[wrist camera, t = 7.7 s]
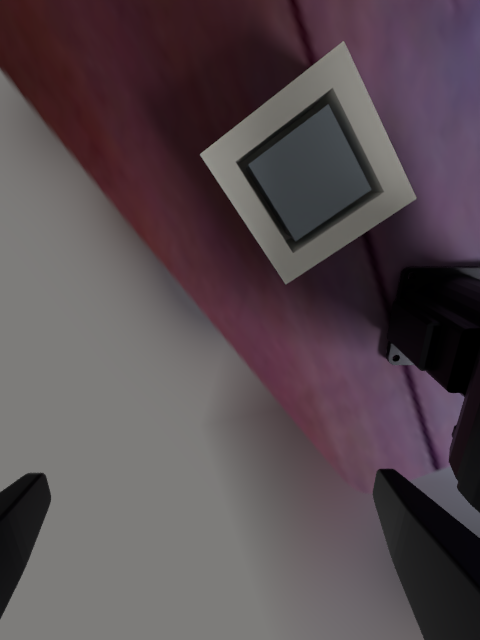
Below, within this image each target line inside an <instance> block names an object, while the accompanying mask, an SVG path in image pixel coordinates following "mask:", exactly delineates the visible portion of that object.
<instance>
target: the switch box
mask: <svg viewBox="0 0 480 640" xmlns="http://www.w3.org/2000/svg"><path fill="white" fill-rule="evenodd" d="M328 104H329V106H330V108H331V110H332V112H333V114H334V116H335V118H336V120H337V122H338V124H339V126H340V128H341V130H342V132H343V134H344V136H345V138H346V140H347V142H348V144H349V146H350V148H351V150H352V152H353V153H354V155H355V157H356V159H357V161H358V163H359V165H360V167H361V169H362V171H363V173H364V175H365V177H366V179H367V181H368V183H369V185H370V187H371V189H372V190H370V191H369V192H368V193H366V194H365V195H363V196H362V197H360V198H359V199H357V200H356V201H354V202H353V203H351V204H350V205H348V206H347V207H345V208H344V209H343V210H341V211H340V212H338V213H337V214H335V215H334V216H332V217H331V218H329V219H328V220H326V221H325V222H323V223H322V224H321V225H319V226H318V227H316V228H315V229H313V230H312V231H310V232H309V233H307V234H306V235H304V236H303V237H301V238H300V239H298V240H297V241H295V240H293V239H292V238H291V237H290V236H288V235H287V234H286V233H285V231H284V230H283V228H282V226H281V225H280V223H279V222H278V220H277V218H276V217H275V215H274V214H273V212H272V210H271V209H270V207H269V206H268V204H267V202H266V201H265V199H264V198H263V196H262V194H261V193H260V191H259V190H258V188H257V186H256V185H255V183H254V181H253V180H252V178H251V177H250V175H249V173H248V172H247V170H246V167H247V166H248V164H250V163H251V162H252V161H254V160H255V159H256V158H257V157H259V156H260V155H261V154H263V153H264V152H265V151H267V150H268V149H269V148H271V147H272V146H273V145H275V144H276V143H277V142H279V141H280V140H281V139H283V138H284V137H285V136H287V135H288V134H289V133H291V132H292V131H293V130H295V129H296V128H297V127H299V126H300V125H301V124H303V123H304V122H305V121H306V120H308V119H309V118H310V117H312V116H313V115H314V114H316V113H317V112H318V111H320V110H321V109H322V108H324V107H325V106H326V105H328ZM200 156H201V157H202V159H203V160H204V162H205V163H206V165H207V166H208V168H209V169H210V171H211V172H212V174H213V175H214V177H215V178H216V180H217V182H218V183H219V185H220V186H221V188H222V189H223V191H224V192H225V194H226V195H227V197H228V198H229V200H230V201H231V203H232V204H233V206H234V207H235V209H236V210H237V212H238V213H239V215H240V216H241V218H242V219H243V221H244V222H245V224H246V225H247V227H248V228H249V230H250V231H251V233H252V234H253V236H254V237H255V239H256V241H257V242H258V244H259V245H260V247H261V248H262V250H263V251H264V253H265V254H266V256H267V257H268V259H269V260H270V262H271V263H272V265H273V266H274V268H275V269H276V271H277V272H278V274H279V275H280V277H281V278H282V280H283V281H284V283H285V284H288V283H289V282H291V281H292V280H294V279H295V278H297V277H298V276H300V275H301V274H303V273H304V272H306V271H307V270H309V269H310V268H312V267H314V266H315V265H317V264H318V263H320V262H321V261H323V260H324V259H326V258H327V257H329V256H330V255H332V254H333V253H335V252H336V251H338V250H339V249H341V248H342V247H344V246H346V245H347V244H349V243H350V242H352V241H353V240H355V239H356V238H358V237H359V236H361V235H362V234H364V233H365V232H367V231H368V230H370V229H371V228H373V227H374V226H376V225H378V224H379V223H381V222H382V221H384V220H385V219H387V218H388V217H390V216H391V215H393V214H394V213H396V212H397V211H399V210H400V209H402V208H403V207H405V206H406V205H408V204H410V203H411V202H413V201H414V200H416V199H417V198H416V196H415V193H414V191H413V189H412V187H411V185H410V183H409V180H408V178H407V176H406V174H405V172H404V170H403V168H402V165H401V163H400V161H399V159H398V157H397V155H396V152H395V150H394V148H393V146H392V144H391V142H390V139H389V137H388V135H387V133H386V131H385V129H384V127H383V124H382V122H381V120H380V118H379V116H378V114H377V111H376V109H375V107H374V105H373V103H372V101H371V98H370V96H369V94H368V92H367V90H366V88H365V85H364V83H363V81H362V79H361V77H360V75H359V73H358V70H357V68H356V66H355V64H354V62H353V60H352V57H351V55H350V53H349V51H348V49H347V47H346V44H345V42H344V41H343V42H342V43H340V44H339V45H338V46H337V47H335V48H334V49H333V50H332V51H330V52H329V53H328V54H327V55H325V56H324V57H323V58H321V59H320V60H319V61H318V62H316V63H315V64H314V65H313V66H311V67H310V68H309V69H307V70H306V71H305V72H304V73H302V74H301V75H300V76H299V77H297V78H296V79H295V80H293V81H292V82H291V83H290V84H288V85H287V86H286V87H285V88H283V89H282V90H281V91H280V92H278V93H277V94H276V95H274V96H273V97H272V98H271V99H269V100H268V101H267V102H266V103H264V104H263V105H262V106H260V107H259V108H258V109H257V110H255V111H254V112H253V113H252V114H250V115H249V116H248V117H247V118H245V119H244V120H243V121H241V122H240V123H239V124H238V125H236V126H235V127H234V128H233V129H231V130H230V131H229V132H227V133H226V134H225V135H224V136H222V137H221V138H220V139H219V140H217V141H216V142H215V143H214V144H212V145H211V146H210V147H208V148H207V149H206V150H205V151H203V152H202V153H201V154H200Z"/></svg>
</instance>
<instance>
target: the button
mask: <svg viewBox="0 0 480 640" xmlns="http://www.w3.org/2000/svg"><path fill="white" fill-rule="evenodd" d="M246 170H247V172H248V173H249V175H250V177H251V178H252V180H253V181H254V183H255V185H256V186H257V188H258V190H259V191H260V193H261V194H262V196H263V198H264V199H265V201H266V202H267V204H268V206H269V207H270V209H271V210H272V212H273V214H274V215H275V217H276V218H277V220H278V222H279V223H280V225H281V226H282V228H283V230H284V231H285V233H286V234H287V235H288V236H290V237H291V238H292V239H293V240H295V241H297V240H298V239H300V238H301V237H303V236H304V235H306V234H307V233H309V232H310V231H312V230H313V229H315V228H316V227H318V226H319V225H321V224H322V223H323V222H325V221H326V220H328V219H329V218H331V217H332V216H334V215H335V214H337V213H338V212H340V211H341V210H343V209H344V208H345V207H347V206H348V205H350V204H351V203H353V202H354V201H356V200H357V199H359V198H360V197H362V196H363V195H365V194H366V193H368V192H369V191H370V190H372V189H371V187H370V185H369V183H368V181H367V179H366V177H365V175H364V173H363V171H362V169H361V167H360V165H359V163H358V161H357V159H356V157H355V155H354V153H353V152H352V150H351V148H350V146H349V144H348V142H347V140H346V138H345V136H344V134H343V132H342V130H341V128H340V126H339V124H338V122H337V120H336V118H335V116H334V114H333V112H332V110H331V108H330V106H329V104H328V105H326V106H325V107H324V108H322V109H321V110H320V111H318V112H317V113H316V114H314V115H313V116H312V117H310V118H309V119H308V120H306V121H305V122H304V123H303V124H301V125H300V126H299V127H297V128H296V129H295V130H293V131H292V132H291V133H289V134H288V135H287V136H285V137H284V138H283V139H281V140H280V141H279V142H277V143H276V144H275V145H273V146H272V147H271V148H269V149H268V150H267V151H265V152H264V153H263V154H261V155H260V156H259V157H257V158H256V159H255V160H254V161H252V162H251V163H250V164H248V166H247V167H246Z"/></svg>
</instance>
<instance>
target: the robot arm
mask: <svg viewBox="0 0 480 640" xmlns="http://www.w3.org/2000/svg"><path fill="white" fill-rule="evenodd" d="M411 272H413V276H412V277H411V278H409V279H408V275H409V273H411ZM387 339H388V340H389V342H388V348H387V353H386V359H387V360H388V361H389V363H391V364H392V365H415V366H416V367H417V368H418V369H420V370H421V371H426V372H427V373H428V374H430V375H431V376H432V377H433V378H434V379H435V380H436V381H437V382H438V383H439V384H440V385H441V386H442V387H444V388H445V389H446V390H447V391H448V392H450V393H460V394H462V395H463V396H464V397H465V398H464V402H463V405H462V409H461V412H460V415H459V419H458V422H457V425H456V426H454V429H453V432H452V437H453V439H452V443H451V446H450V453H449V463H450V465H451V468H452V470H453V472H454V475H455V477H456V479H457V480H458V484H457V488H458V490H459V491H460V493H461V494H462V495H463V496H464V497H465V499H466V500H467V501H468V502H469V503H470V504H471V505H472V506H473V507H474V508H475V509H476V510H477V511H478V512H480V266H410V267H406V268H405V269H404V270H403V271H402V273H401V276H400V282H399V287H398V293H397V298H396V300H395V301H394V302H393V306H392V312H391V317H390V323H389V328H388V334H387ZM394 355H397V357H396V358H395V359H392V358H393V356H394ZM373 498H374V502H375V506H376V509H377V512H378V515H379V519H380V522H381V526H382V529H383V532H384V535H385V539H386V542H387V545H388V549H389V552H390V555H391V558H392V561H393V563H394V566H395V569H396V571H397V574H398V576H399V579H400V581H401V584H402V586H403V589H404V591H405V593H406V596H407V598H408V601H409V603H410V605H411V608H412V610H413V613H414V615H415V618H416V620H417V623H418V625H419V627H420V630H421V633H422V635H423V638H424V640H480V538H478V537H477V536H476V535H475V534H474V533H472V532H471V531H470V530H469V529H467V528H466V527H465V526H464V525H463V524H461V523H460V522H459V521H457V520H456V519H455V518H454V517H452V516H451V515H450V514H449V513H448V512H446V511H445V510H444V509H443V508H442V507H440V506H439V505H438V504H437V503H435V502H434V501H433V500H432V499H430V498H429V497H428V496H427V495H425V494H424V493H423V492H422V491H421V490H419V489H418V488H417V487H416V486H414V485H413V484H412V483H411V482H409V481H408V480H407V479H406V478H405V477H403V476H402V475H401V474H400V473H398V472H397V471H396V470H394V469H379V470H378V471H377V473H376V478H375V483H374V488H373ZM50 502H51V494H50V489H49V486H48V482H47V478H46V475H45V474H44V473H28V474H25V475H24V476H22V477H21V478H20V479H18V480H17V481H15V482H14V483H13V484H11V485H10V486H8V487H7V488H6V489H4V490H3V491H1V492H0V619H1V616H2V615H3V613H4V611H5V608H6V607H7V605H8V602H9V600H10V598H11V596H12V594H13V592H14V590H15V588H16V586H17V584H18V582H19V580H20V578H21V576H22V574H23V571H24V569H25V567H26V565H27V562H28V560H29V557H30V555H31V552H32V550H33V547H34V545H35V542H36V539H37V537H38V534H39V532H40V529H41V526H42V524H43V521H44V518H45V516H46V513H47V511H48V508H49V505H50Z"/></svg>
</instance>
